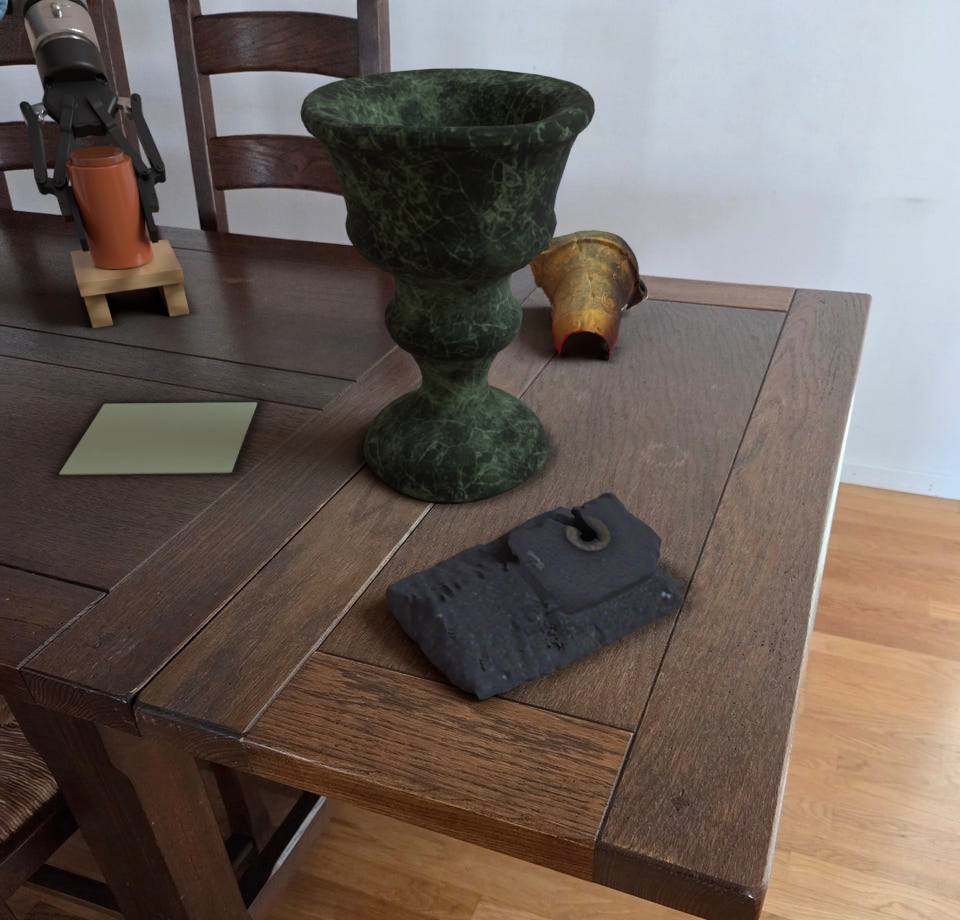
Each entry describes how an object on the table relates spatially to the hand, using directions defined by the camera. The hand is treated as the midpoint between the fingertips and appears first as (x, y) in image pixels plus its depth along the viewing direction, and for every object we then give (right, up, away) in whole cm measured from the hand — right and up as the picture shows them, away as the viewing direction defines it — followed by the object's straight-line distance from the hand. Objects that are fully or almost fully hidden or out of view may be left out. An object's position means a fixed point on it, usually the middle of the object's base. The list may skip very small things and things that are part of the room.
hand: (119, 241), depth 105 cm
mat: (+11, -27, -17) cm, 34 cm away
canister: (-1, 0, +4) cm, 5 cm away
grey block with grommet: (+47, -44, -36) cm, 74 cm away
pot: (+55, -9, +4) cm, 56 cm away
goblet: (+40, -29, -19) cm, 53 cm away
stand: (-1, -5, +9) cm, 10 cm away
